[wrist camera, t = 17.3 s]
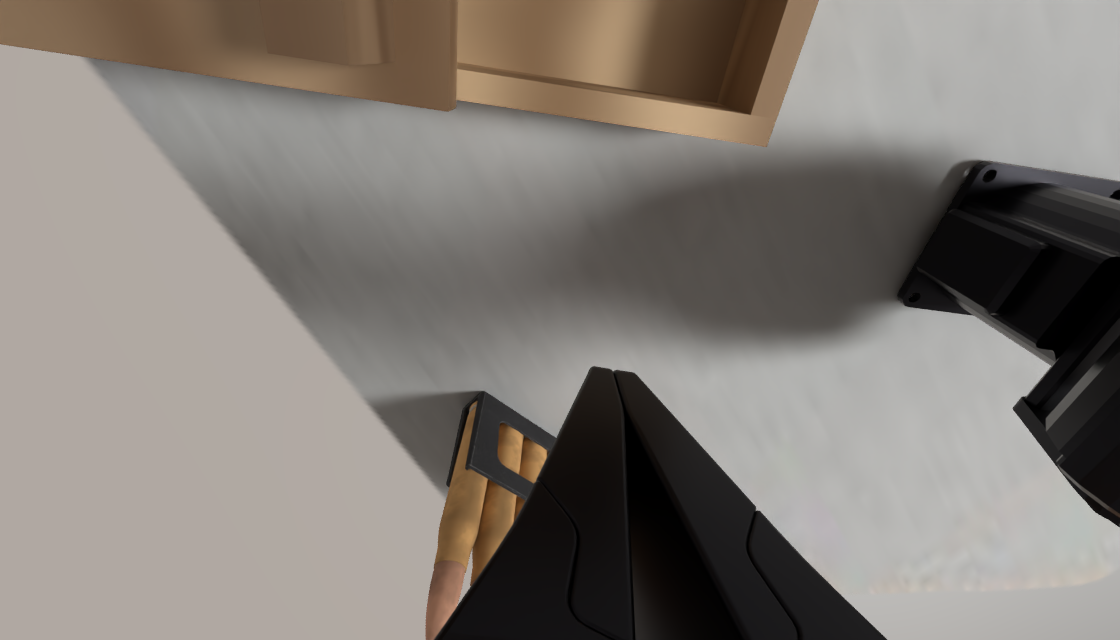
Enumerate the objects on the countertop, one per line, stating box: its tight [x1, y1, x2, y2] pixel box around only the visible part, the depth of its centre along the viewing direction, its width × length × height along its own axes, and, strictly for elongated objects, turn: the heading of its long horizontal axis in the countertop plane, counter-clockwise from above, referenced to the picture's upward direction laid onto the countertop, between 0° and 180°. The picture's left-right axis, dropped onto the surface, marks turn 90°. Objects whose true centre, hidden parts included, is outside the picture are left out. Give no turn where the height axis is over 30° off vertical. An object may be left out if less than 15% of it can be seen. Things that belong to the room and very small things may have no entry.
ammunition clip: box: [426, 392, 556, 640], centre depth 22 cm, size 11×2×12 cm, turn 48°
